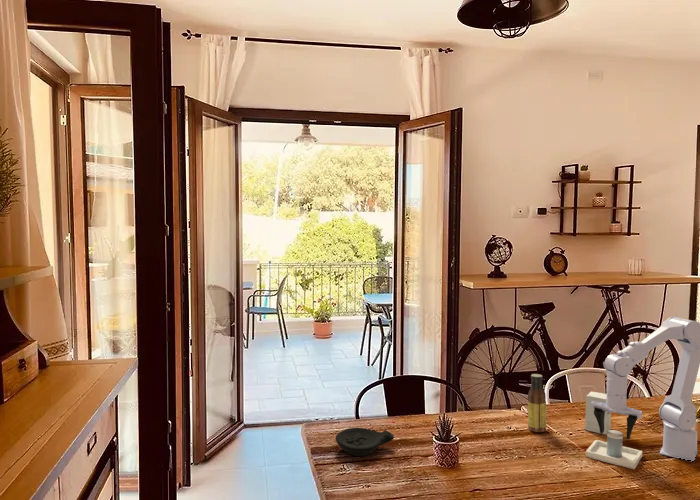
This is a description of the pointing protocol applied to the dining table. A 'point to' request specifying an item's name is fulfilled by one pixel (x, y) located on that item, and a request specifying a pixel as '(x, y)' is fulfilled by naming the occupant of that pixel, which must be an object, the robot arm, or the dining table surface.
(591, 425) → the supplement box
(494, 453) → the dining table surface
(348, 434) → the oil lamp
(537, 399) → the sauce bottle
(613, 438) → the cylinder
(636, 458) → the tray
